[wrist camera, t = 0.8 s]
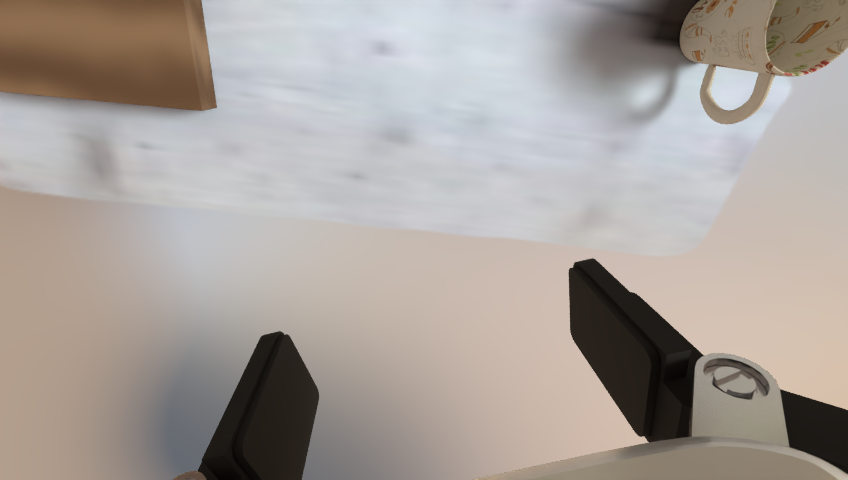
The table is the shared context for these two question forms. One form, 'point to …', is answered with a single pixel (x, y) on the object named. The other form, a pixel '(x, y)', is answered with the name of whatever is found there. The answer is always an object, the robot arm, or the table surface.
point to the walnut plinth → (108, 51)
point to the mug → (762, 43)
